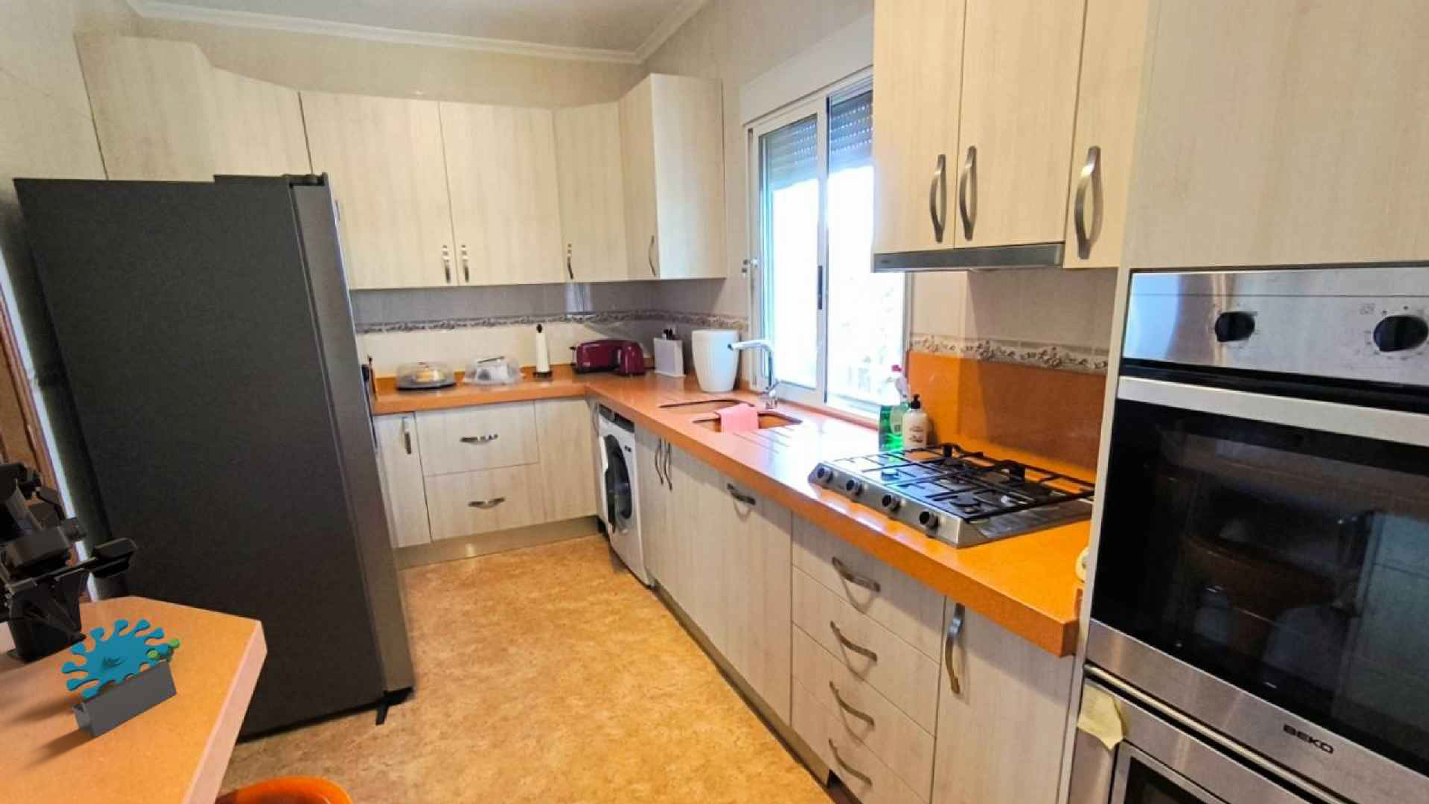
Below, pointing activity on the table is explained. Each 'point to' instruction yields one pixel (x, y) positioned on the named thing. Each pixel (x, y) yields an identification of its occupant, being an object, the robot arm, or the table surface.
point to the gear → (117, 656)
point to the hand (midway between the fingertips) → (77, 631)
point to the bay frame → (125, 700)
